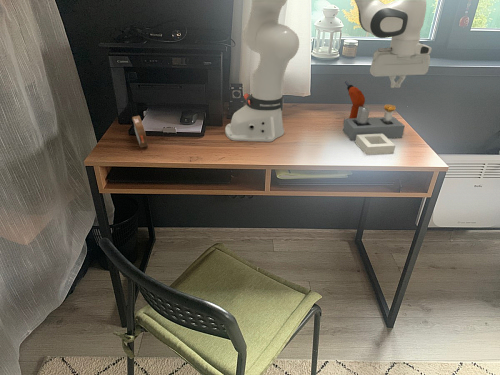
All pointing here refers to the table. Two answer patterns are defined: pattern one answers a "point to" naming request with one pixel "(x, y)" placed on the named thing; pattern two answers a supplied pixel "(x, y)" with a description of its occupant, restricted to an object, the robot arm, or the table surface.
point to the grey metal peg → (362, 115)
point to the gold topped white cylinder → (388, 113)
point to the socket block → (373, 128)
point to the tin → (140, 131)
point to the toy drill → (355, 99)
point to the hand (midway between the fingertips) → (395, 87)
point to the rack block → (375, 144)
